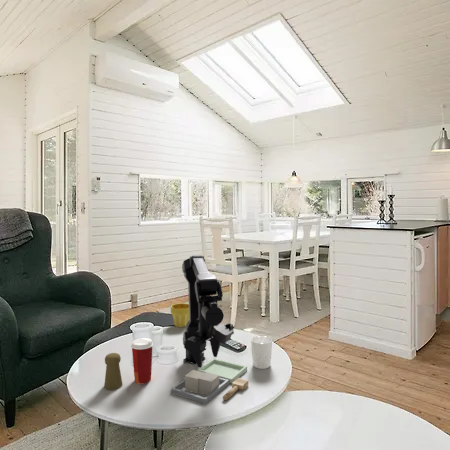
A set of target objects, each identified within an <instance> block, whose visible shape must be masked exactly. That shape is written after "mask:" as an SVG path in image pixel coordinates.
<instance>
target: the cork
mask: <svg viewBox="0 0 450 450" xmlns="http://www.w3.org/2000/svg"><path fill="white" fill-rule="evenodd" d="M121 359H122V358H121V355H120V354H119V353H117V352H110V353H108V354H106V356H105V357H104V364H105V367H106V368H105V376H104V377H105V378H104V386H103V387H104V389H105V390H107V391H115V390H119V389H120V388H121V387H122V386H123V380H122V373H121V369H120V367H121V366H120V363H121Z"/></svg>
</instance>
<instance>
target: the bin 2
mask: <svg viewBox="0 0 450 450" xmlns="http://www.w3.org/2000/svg"><path fill="white" fill-rule="evenodd" d="M196 371H200V372H204V373H206V372H207V373H212V374H216V375H219V377H220V378H223V379H227V380H229V384H232V383H233V382H234V381H235V380H236V379H237V378H241V376H243V375H244V374H245V373H246V372H247V371H248V366H247V365H242V364H239V363H235V362H231V361H226V360H223V359H219V358H216V357H214V358H212V359H211V360H209V361H207V362H206V363H204V364H202V367H201V368H200V367H198V368H197V369H196Z"/></svg>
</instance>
